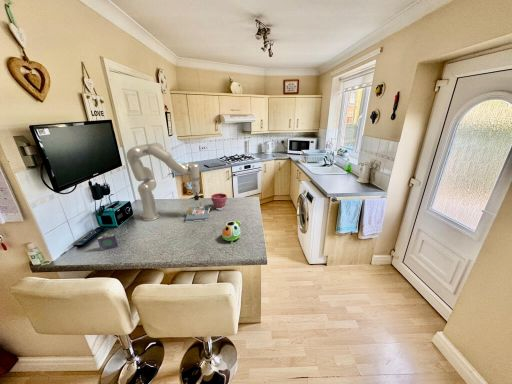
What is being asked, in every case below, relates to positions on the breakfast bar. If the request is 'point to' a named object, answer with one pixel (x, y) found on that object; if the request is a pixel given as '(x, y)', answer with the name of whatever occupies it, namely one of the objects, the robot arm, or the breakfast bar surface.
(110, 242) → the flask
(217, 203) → the plant pot
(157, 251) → the breakfast bar surface
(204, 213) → the panel
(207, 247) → the breakfast bar surface
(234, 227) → the turtle holder
